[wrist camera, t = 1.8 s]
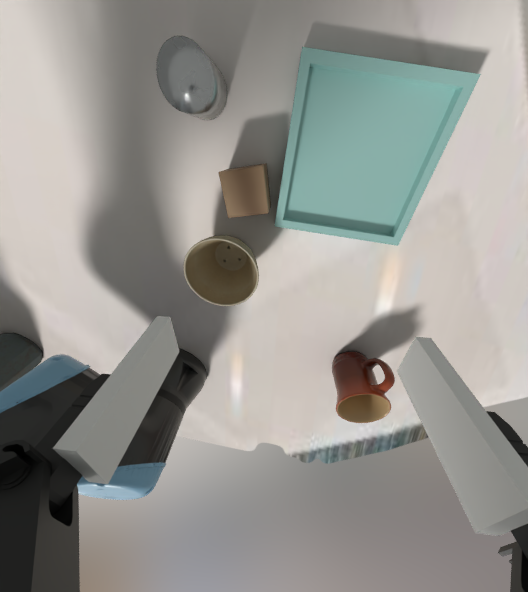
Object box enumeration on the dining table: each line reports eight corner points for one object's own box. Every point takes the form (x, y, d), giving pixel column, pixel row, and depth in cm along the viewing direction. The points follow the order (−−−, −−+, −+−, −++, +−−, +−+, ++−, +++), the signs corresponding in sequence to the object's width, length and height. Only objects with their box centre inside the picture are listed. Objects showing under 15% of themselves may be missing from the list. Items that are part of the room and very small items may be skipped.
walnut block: (236, 209, 32) (228, 218, 28) (228, 169, 29) (218, 172, 25) (270, 205, 31) (268, 213, 27) (266, 163, 28) (262, 165, 24)
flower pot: (257, 287, 38) (252, 312, 32) (200, 275, 38) (184, 298, 32) (268, 230, 33) (264, 247, 27) (201, 216, 33) (182, 231, 27)
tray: (275, 222, 32) (274, 226, 30) (301, 54, 23) (302, 46, 21) (392, 240, 32) (397, 245, 30) (466, 79, 23) (480, 74, 21)
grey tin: (184, 116, 26) (160, 108, 21) (181, 56, 24) (152, 31, 19) (226, 123, 26) (211, 116, 21) (227, 63, 24) (211, 40, 19)
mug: (352, 379, 49) (366, 428, 41) (318, 365, 48) (325, 412, 39) (393, 346, 43) (419, 395, 34) (356, 328, 41) (374, 375, 33)
